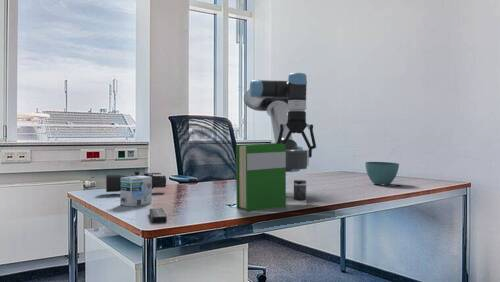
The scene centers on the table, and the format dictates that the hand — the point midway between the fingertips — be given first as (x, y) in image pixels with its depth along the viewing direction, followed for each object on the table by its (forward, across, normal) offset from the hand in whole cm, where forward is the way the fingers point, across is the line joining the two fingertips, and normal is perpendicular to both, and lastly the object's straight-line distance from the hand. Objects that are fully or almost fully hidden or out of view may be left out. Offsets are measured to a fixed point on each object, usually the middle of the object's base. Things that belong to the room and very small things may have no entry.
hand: (295, 165), depth 169 cm
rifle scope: (+16, -73, +4) cm, 74 cm away
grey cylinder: (+1, 0, 0) cm, 1 cm away
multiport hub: (+16, -42, -44) cm, 63 cm away
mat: (+15, -1, -2) cm, 15 cm away
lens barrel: (+15, +2, +3) cm, 15 cm away
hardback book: (+15, -12, -18) cm, 26 cm away
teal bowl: (+16, +44, +70) cm, 85 cm away
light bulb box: (+15, -60, -22) cm, 66 cm away
